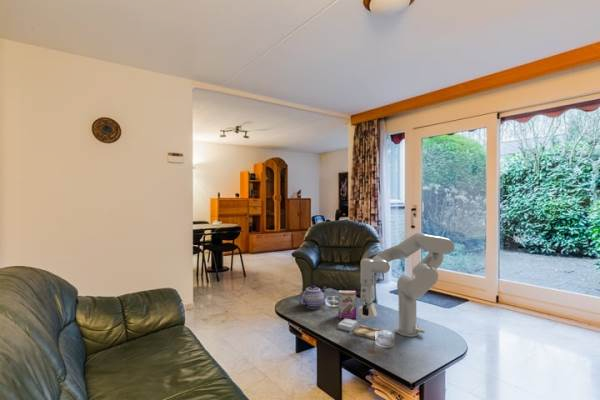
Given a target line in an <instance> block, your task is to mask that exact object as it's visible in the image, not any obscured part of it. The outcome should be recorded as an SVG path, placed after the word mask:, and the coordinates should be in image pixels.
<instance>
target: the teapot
mask: <svg viewBox="0 0 600 400" xmlns="http://www.w3.org/2000/svg"><path fill="white" fill-rule="evenodd" d="M326 290H327V286H323V287H322V289H321V288H320V287H318V286H316V285H315V284H311V286H308V287H306V288H305V290H304V291H301V292H300V293H299V295H298V299H297V300H298V303H299V305H301V306H304V307H306V308H307V309H311V310H317V309H320V308H321V306H323V304H324V302H325V301H324V300H325V295H326ZM301 300H302V301H301Z"/></svg>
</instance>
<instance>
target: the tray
mask: <svg viewBox="0 0 600 400" xmlns="http://www.w3.org/2000/svg"><path fill="white" fill-rule="evenodd" d="M375 331H382V332H383V330H382V329H378V328H373V327H370V326H366V325H361V324H358V325H357V326H356V327H355V328H354V329H353V330H352V334H353V335H356V336H360V337H364V338H367V339H371V340H374V339H375V336H374V334H375Z"/></svg>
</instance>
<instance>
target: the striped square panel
mask: <svg viewBox="0 0 600 400" xmlns="http://www.w3.org/2000/svg"><path fill="white" fill-rule="evenodd" d="M358 326H359V324H358V321H357V320H356V319H348V318H343V319H342V320H341V321H340V322H338V324H337V328H338V329H339V330H343V331H344V330H345V331H346V332H348V331H349V332H353V331H354V330H355V329H356V328H357V327H358Z"/></svg>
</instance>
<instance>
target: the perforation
mask: <svg viewBox="0 0 600 400" xmlns="http://www.w3.org/2000/svg"><path fill="white" fill-rule="evenodd" d="M336 330H337V331H340V332H342V329H339V328H338V329H337V328H336ZM343 332H345V333H347V334H349V333H350V331H349V332H348V331H347V330H345V331H344V330H343Z"/></svg>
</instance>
